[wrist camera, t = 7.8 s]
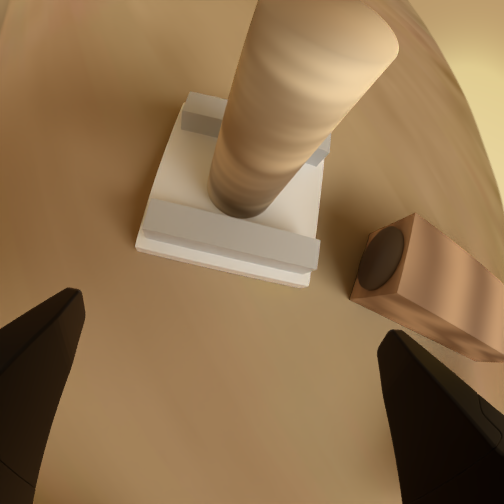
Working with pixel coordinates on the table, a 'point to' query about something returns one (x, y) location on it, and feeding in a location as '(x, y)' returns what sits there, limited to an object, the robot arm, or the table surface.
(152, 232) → the cradle
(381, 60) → the dowel
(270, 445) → the table surface
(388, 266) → the beam
